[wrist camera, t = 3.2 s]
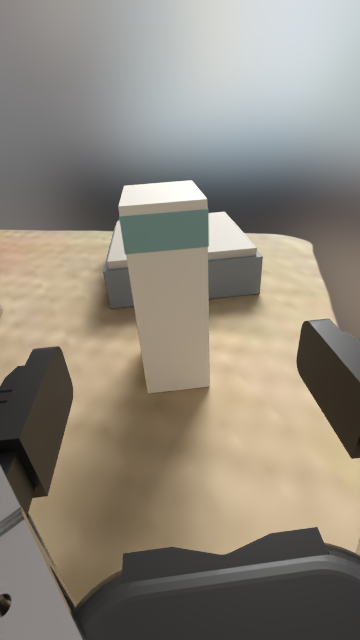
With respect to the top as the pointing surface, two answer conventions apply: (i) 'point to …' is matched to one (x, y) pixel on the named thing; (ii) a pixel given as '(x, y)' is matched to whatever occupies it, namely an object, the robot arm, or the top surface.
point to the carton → (169, 281)
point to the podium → (223, 263)
